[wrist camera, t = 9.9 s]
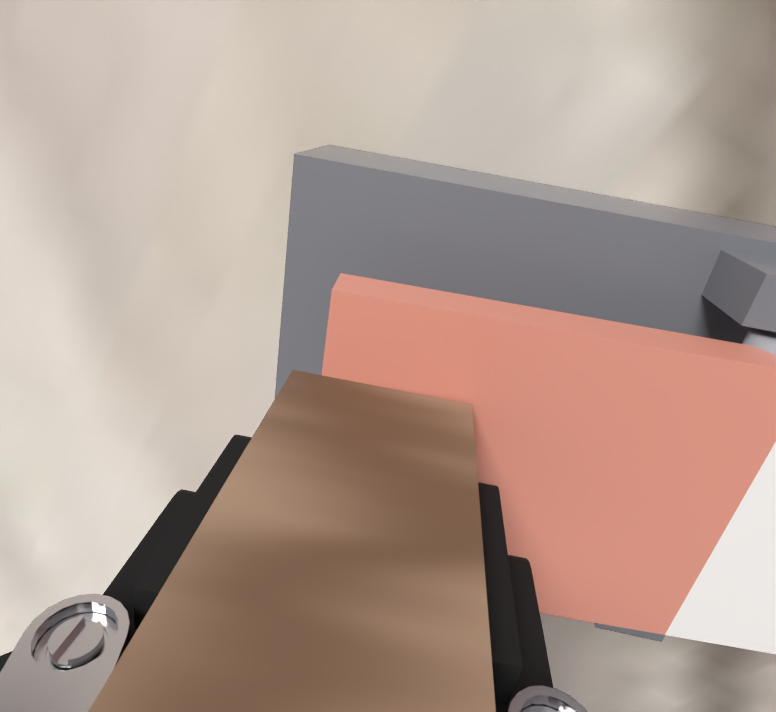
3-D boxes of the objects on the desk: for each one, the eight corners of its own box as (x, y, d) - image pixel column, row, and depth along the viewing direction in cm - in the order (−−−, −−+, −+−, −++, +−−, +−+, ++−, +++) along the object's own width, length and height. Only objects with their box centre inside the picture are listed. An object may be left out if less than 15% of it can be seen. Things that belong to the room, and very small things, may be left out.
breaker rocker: (1176, 401, 13) (1300, 451, 11) (958, 636, 16) (1024, 702, 14) (346, 254, 13) (333, 280, 11) (312, 523, 16) (297, 576, 14)
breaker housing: (1099, 285, 16) (1436, 378, 11) (880, 569, 21) (1029, 731, 16) (329, 144, 17) (266, 161, 12) (297, 447, 22) (243, 559, 17)
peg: (471, 404, 12) (524, 1085, 4) (435, 540, 13) (415, 1209, 5) (292, 369, 12) (-57, 953, 4) (279, 509, 13) (21, 1119, 5)
